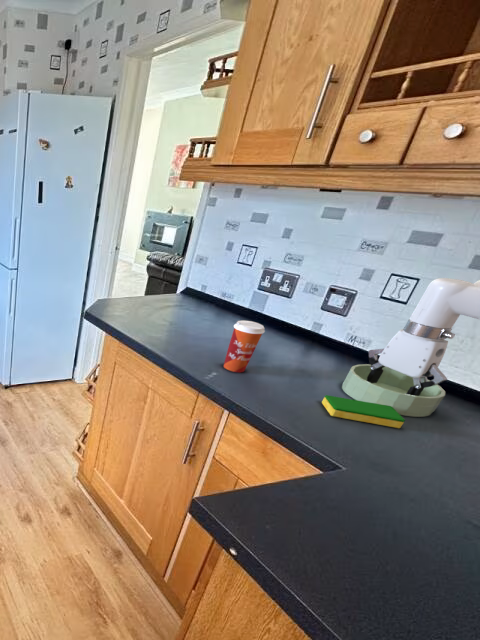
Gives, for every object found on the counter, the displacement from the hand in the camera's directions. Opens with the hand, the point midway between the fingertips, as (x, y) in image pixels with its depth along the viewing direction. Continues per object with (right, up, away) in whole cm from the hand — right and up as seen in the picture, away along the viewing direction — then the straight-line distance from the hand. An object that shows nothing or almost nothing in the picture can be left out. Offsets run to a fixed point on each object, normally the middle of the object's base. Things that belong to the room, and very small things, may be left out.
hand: (389, 390), depth 110 cm
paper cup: (-32, +6, +15) cm, 36 cm away
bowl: (0, -2, +1) cm, 2 cm away
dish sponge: (-15, -6, -7) cm, 17 cm away
